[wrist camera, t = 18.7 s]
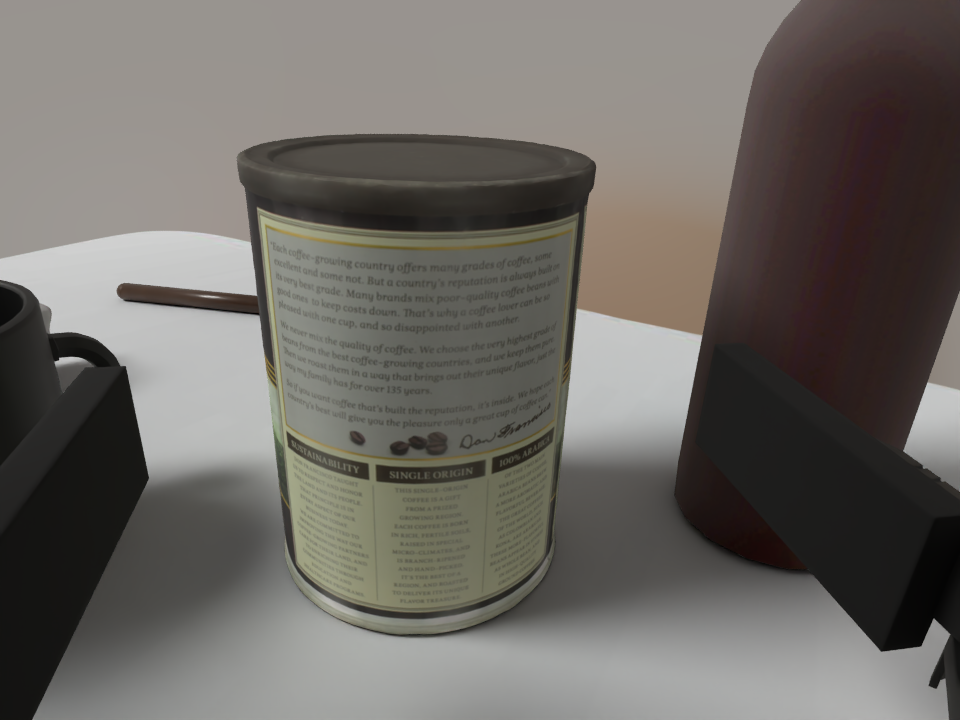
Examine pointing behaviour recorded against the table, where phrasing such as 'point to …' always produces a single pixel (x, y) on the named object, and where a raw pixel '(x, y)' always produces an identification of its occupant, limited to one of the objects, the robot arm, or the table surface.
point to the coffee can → (417, 364)
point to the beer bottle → (837, 231)
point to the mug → (33, 363)
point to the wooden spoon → (188, 297)
